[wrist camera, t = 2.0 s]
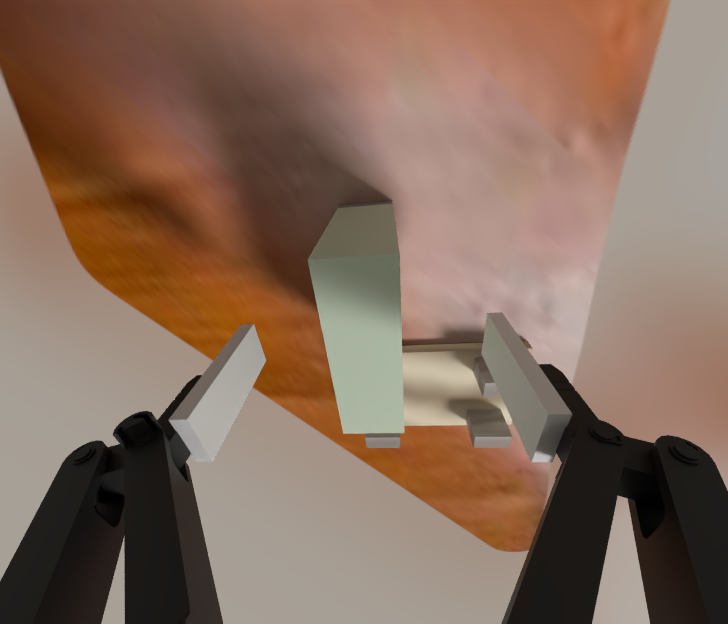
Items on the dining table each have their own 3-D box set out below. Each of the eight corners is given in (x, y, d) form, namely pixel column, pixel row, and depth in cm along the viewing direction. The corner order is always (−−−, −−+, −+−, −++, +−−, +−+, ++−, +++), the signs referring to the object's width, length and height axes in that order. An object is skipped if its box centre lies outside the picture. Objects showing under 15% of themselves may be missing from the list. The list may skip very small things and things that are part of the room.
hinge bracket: (345, 347, 26) (339, 379, 23) (527, 340, 25) (550, 373, 21) (356, 418, 32) (353, 452, 28) (507, 416, 30) (523, 452, 27)
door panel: (356, 333, 26) (343, 433, 17) (339, 204, 20) (307, 259, 11) (396, 331, 25) (404, 432, 17) (392, 200, 19) (399, 253, 11)
